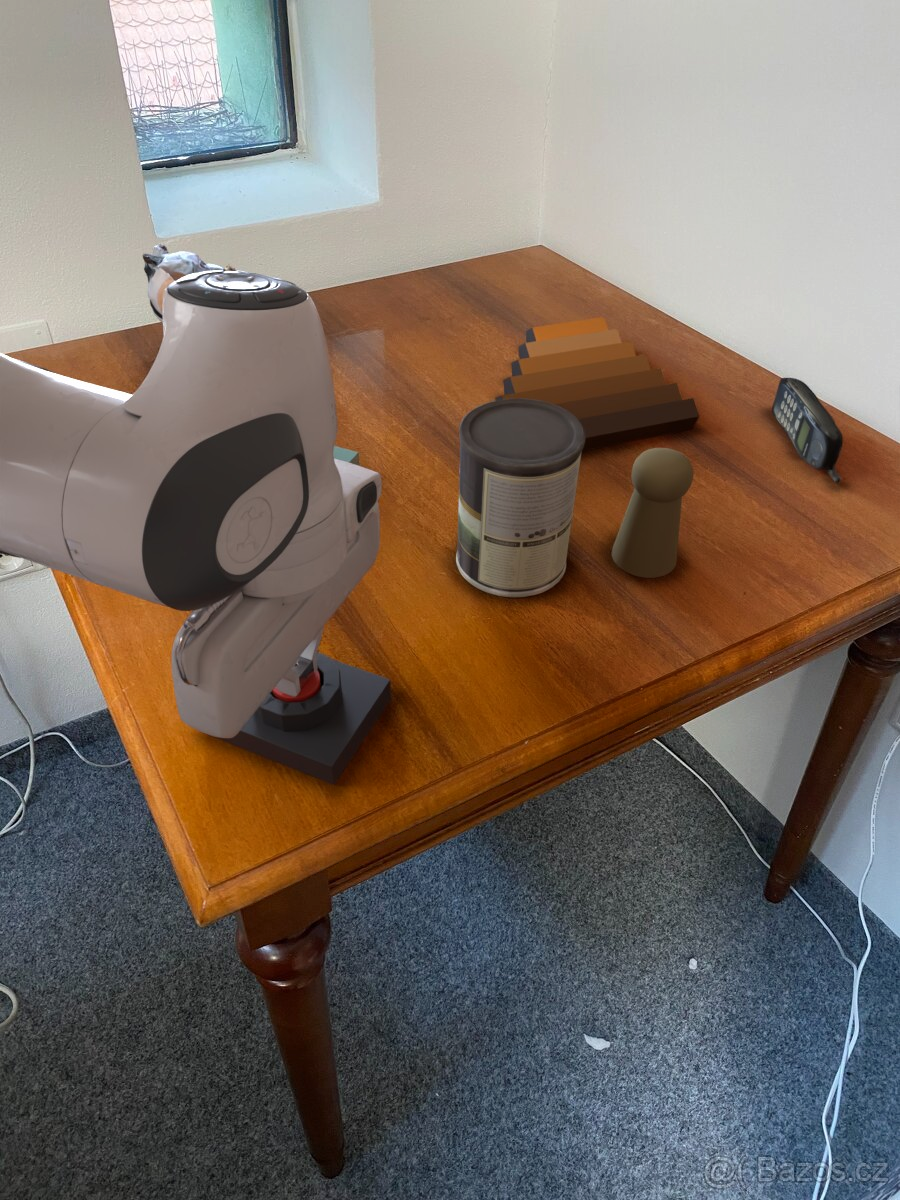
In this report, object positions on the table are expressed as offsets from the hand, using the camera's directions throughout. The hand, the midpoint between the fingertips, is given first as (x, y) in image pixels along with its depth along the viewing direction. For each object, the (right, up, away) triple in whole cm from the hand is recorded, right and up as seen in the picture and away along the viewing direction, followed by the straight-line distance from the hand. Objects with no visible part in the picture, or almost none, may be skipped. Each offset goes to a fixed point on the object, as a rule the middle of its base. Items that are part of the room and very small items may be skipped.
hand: (297, 681), depth 64 cm
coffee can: (+17, +9, +17) cm, 26 cm away
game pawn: (+29, +10, +18) cm, 36 cm away
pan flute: (+23, +30, +39) cm, 54 cm away
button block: (0, -3, +3) cm, 4 cm away
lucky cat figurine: (-19, +39, +48) cm, 65 cm away
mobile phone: (+50, +23, +32) cm, 64 cm away
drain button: (0, -1, +1) cm, 2 cm away
